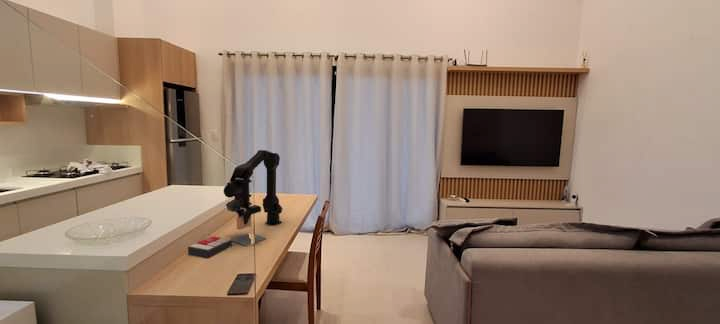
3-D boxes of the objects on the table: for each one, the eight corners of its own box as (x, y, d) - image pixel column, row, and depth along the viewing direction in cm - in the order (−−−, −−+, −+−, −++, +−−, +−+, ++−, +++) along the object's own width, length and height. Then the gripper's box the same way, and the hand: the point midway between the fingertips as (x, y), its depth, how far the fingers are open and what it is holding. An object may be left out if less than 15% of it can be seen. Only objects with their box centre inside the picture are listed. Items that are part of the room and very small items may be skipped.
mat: (248, 233, 172) (248, 232, 172) (266, 238, 165) (266, 237, 165) (228, 240, 162) (228, 239, 162) (246, 246, 155) (246, 245, 155)
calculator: (232, 238, 156) (208, 249, 141) (232, 247, 156) (208, 259, 142) (212, 235, 159) (187, 245, 145) (212, 244, 160) (187, 255, 145)
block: (248, 225, 168) (248, 213, 167) (251, 225, 167) (251, 214, 166) (236, 229, 162) (236, 217, 161) (239, 229, 161) (239, 217, 160)
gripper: (216, 193, 160) (217, 224, 162) (241, 199, 150) (243, 232, 152) (236, 189, 169) (237, 218, 172) (261, 194, 159) (262, 226, 162)
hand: (244, 224), depth 164 cm, fingers closed on block, 2 cm apart
